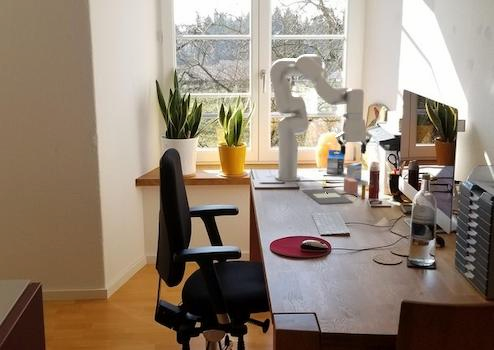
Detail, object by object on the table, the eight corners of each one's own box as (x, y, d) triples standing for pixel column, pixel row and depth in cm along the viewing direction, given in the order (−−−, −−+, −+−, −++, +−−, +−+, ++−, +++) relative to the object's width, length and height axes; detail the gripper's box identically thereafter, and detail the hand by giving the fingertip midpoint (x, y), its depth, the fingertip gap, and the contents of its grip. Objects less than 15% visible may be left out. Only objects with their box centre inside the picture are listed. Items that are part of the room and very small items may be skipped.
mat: (302, 191, 269) (302, 189, 268) (332, 189, 272) (332, 188, 272) (319, 204, 246) (319, 203, 246) (352, 202, 249) (352, 201, 249)
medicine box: (354, 182, 286) (355, 165, 285) (346, 181, 289) (346, 164, 287) (361, 179, 293) (362, 163, 291) (353, 178, 295) (354, 162, 293)
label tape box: (326, 173, 307) (327, 150, 304) (327, 171, 310) (328, 149, 308) (342, 174, 304) (344, 151, 301) (343, 173, 308) (345, 150, 305)
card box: (343, 190, 270) (344, 178, 269) (351, 190, 271) (352, 177, 270) (349, 194, 264) (350, 181, 262) (357, 193, 265) (358, 181, 263)
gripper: (339, 117, 254) (338, 155, 258) (375, 116, 258) (374, 154, 261) (333, 116, 261) (332, 153, 265) (368, 115, 265) (367, 151, 269)
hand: (353, 153), depth 263 cm, fingers open, 9 cm apart
